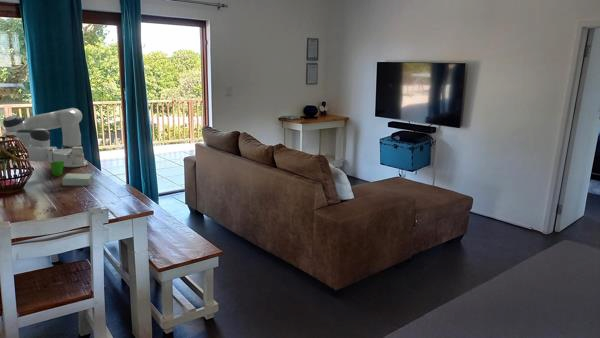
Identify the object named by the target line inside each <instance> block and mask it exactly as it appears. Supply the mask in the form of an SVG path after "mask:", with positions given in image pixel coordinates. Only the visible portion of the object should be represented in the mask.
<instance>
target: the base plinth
mask: <svg viewBox="0 0 600 338" xmlns="http://www.w3.org/2000/svg"><path fill="white" fill-rule="evenodd" d="M93 176H94V175H93V173H66V174H65V175H64V176H63V177H62V178H61V179H62V180H61V183H62V186H84V187H85V186H90V184H91V183H92V182H93V179H94V177H93Z"/></svg>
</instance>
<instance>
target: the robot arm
mask: <svg viewBox="0 0 600 338" xmlns="http://www.w3.org/2000/svg"><path fill="white" fill-rule="evenodd" d="M82 120H83V113H82V111H81V110H79V109H78V108H75V107H70V108H66V109H65V108H64V109H59V110H55V111H51V112H46V113H40V114H35V115H31V116H29V117H26V118H24V117H22V116H19V115H15V114H14V115H9V116H7V117H5V118H4V119H3V121H2V125H3V127H4V128H5V131H6V132H4V133H3V134H2V135H1V137H3V136H6V135H15V136H17V137H18V138H19V139H20V140H21V142H22V143H23V145H24V146H25V148H26V149H27V151H28V153H29V161H28V162H46V163H50V162H51V163H52V162H58V161H64V166H63V168H64V167H65V168H79V167H85V166H86V165H87V166H88V160H86V158H85V154H84V153H83V164H82V165H72V158H78V154H72V147H83V146H82V133H81V129H80V123H81V121H82ZM59 128H61V132H62V145H61V148H60V149H59V148H58V147H57V146H51V140H50V139H51V132H50V131H49V130H54V129H59ZM87 166H86V167H87Z"/></svg>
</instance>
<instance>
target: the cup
mask: <svg viewBox="0 0 600 338" xmlns="http://www.w3.org/2000/svg"><path fill="white" fill-rule="evenodd" d="M49 163H50V168H51V172H52V175H53V176H54V177H56V176H57V177H60V176H62V175H63V173H64V167H63V166H64V161H58V162H52V163H51V162H49Z"/></svg>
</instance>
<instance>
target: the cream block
mask: <svg viewBox="0 0 600 338" xmlns="http://www.w3.org/2000/svg"><path fill="white" fill-rule="evenodd" d="M83 149H84V147H83V146H82V147H72V154H78V158H72V165H82V164H83V154H84V151H83Z"/></svg>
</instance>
